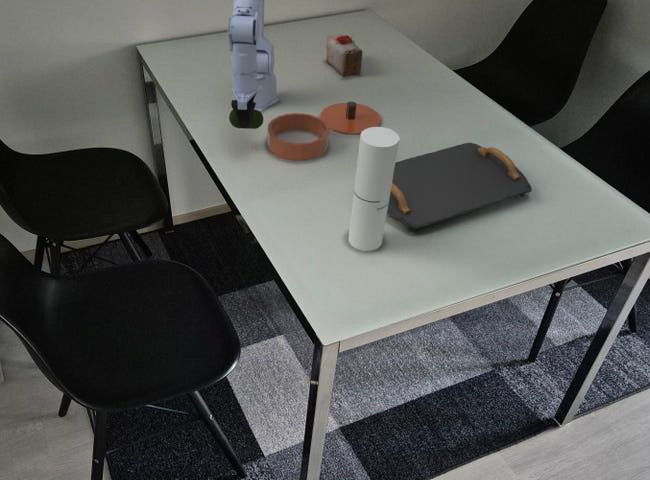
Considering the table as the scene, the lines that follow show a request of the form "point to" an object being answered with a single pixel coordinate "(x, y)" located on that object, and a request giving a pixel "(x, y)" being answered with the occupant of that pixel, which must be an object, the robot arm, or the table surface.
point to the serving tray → (452, 184)
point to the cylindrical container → (372, 187)
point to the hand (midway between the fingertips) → (245, 122)
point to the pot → (298, 149)
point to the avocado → (254, 121)
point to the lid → (350, 118)
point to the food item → (344, 55)
